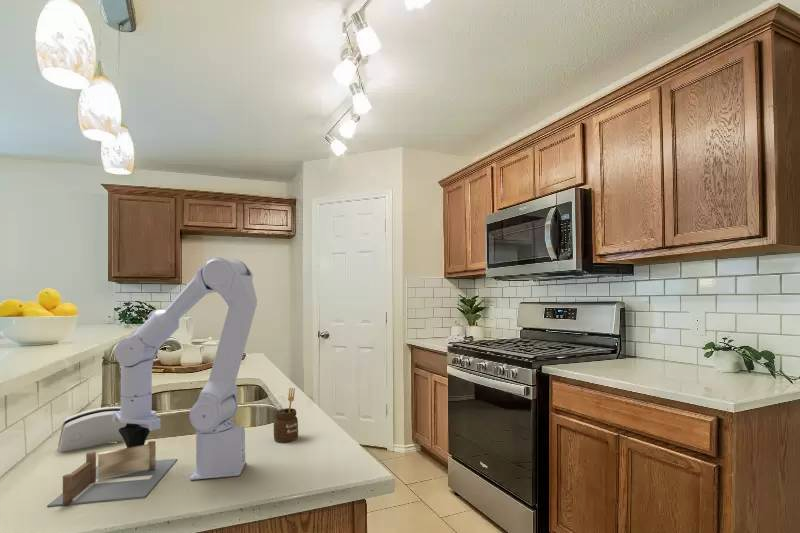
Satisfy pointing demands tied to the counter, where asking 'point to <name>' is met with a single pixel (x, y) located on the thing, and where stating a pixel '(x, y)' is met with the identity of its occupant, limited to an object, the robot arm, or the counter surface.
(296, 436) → the utensil holder
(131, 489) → the mat
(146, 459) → the fence panel
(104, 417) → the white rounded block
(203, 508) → the counter surface
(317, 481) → the counter surface
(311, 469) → the counter surface
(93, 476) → the fence post and rail
